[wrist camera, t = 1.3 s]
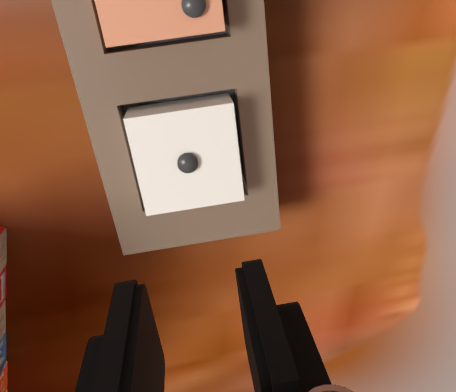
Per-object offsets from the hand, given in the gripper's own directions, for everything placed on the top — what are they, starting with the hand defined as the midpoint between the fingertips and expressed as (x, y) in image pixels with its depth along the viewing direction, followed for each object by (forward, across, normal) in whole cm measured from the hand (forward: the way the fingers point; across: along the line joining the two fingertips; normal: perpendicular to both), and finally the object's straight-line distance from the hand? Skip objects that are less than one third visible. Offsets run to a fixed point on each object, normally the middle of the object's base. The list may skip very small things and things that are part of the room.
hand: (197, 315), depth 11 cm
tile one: (+14, 0, 0) cm, 14 cm away
